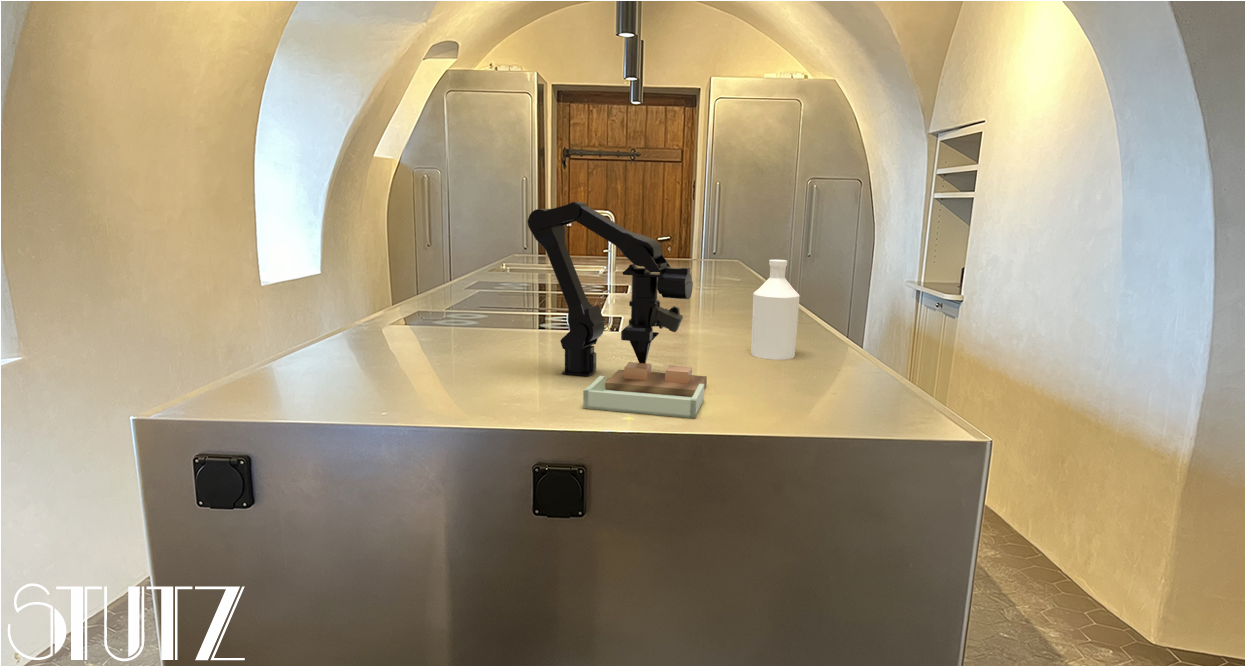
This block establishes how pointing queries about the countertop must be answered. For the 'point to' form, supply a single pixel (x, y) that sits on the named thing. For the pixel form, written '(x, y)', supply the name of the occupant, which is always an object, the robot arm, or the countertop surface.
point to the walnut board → (654, 385)
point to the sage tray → (641, 401)
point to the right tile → (678, 374)
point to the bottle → (775, 316)
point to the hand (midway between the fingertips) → (642, 364)
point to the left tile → (637, 371)
